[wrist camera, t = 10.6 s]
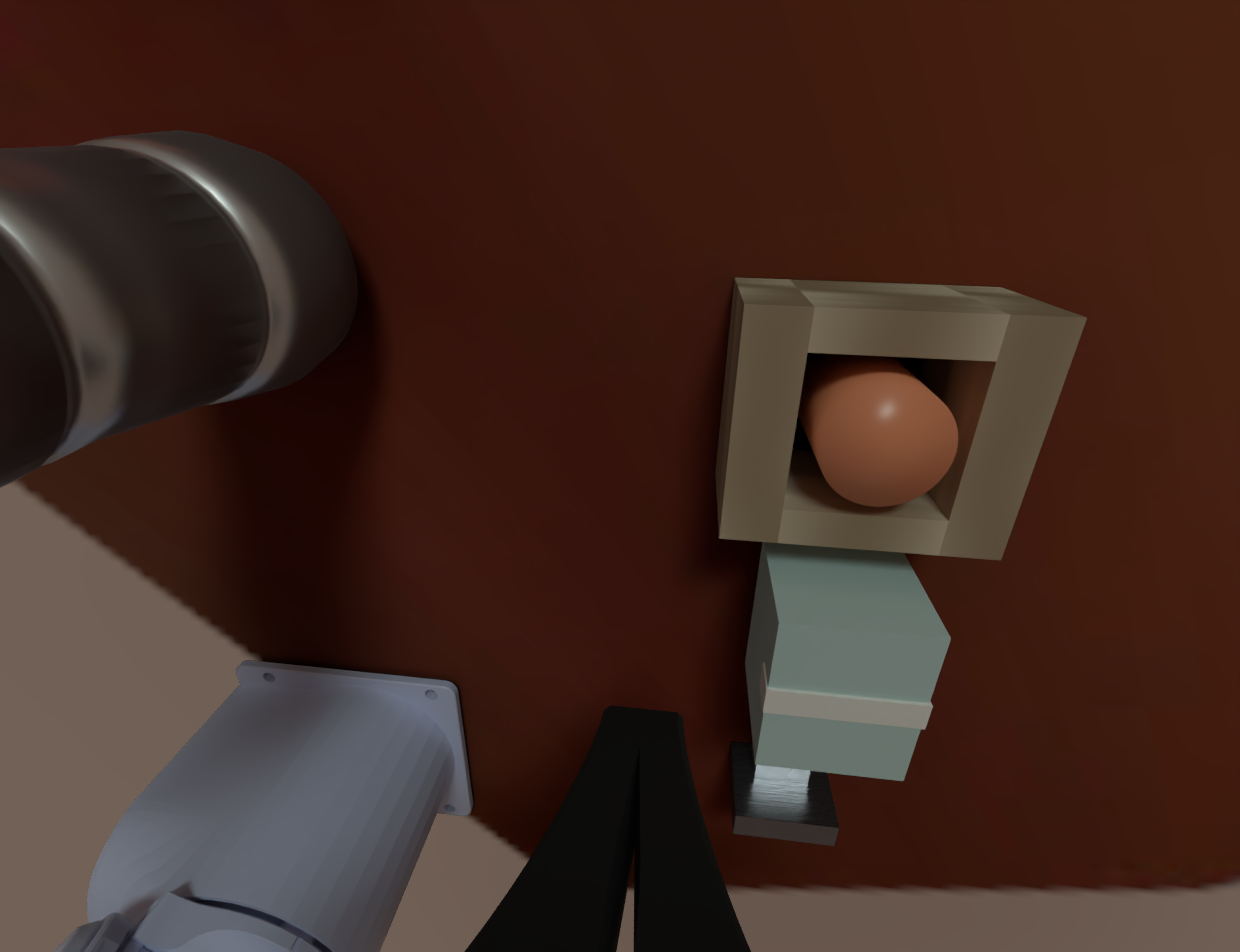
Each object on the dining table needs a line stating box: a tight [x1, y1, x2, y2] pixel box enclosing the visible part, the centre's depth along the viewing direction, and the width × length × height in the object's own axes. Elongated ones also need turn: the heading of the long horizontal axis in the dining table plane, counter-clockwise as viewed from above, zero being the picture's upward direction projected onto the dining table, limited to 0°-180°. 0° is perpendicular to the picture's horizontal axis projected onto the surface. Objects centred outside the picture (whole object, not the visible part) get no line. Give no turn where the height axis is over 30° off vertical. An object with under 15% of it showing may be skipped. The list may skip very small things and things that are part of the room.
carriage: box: [745, 542, 951, 781], centre depth 17 cm, size 4×5×4 cm
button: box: [798, 353, 958, 507], centre depth 16 cm, size 3×3×4 cm
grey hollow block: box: [715, 278, 1087, 560], centre depth 16 cm, size 7×6×4 cm
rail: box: [729, 740, 839, 846], centre depth 21 cm, size 4×13×3 cm, turn 179°
